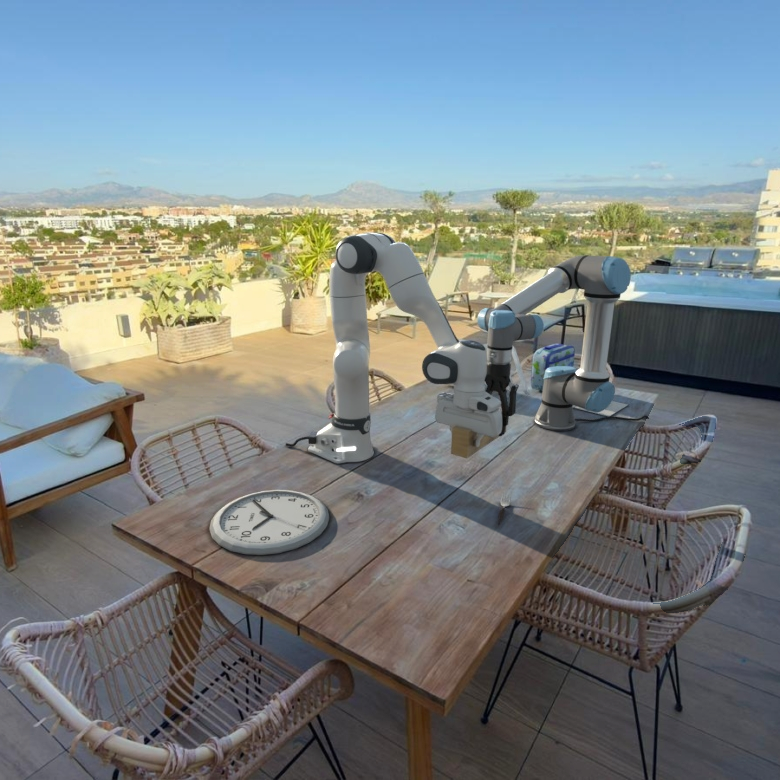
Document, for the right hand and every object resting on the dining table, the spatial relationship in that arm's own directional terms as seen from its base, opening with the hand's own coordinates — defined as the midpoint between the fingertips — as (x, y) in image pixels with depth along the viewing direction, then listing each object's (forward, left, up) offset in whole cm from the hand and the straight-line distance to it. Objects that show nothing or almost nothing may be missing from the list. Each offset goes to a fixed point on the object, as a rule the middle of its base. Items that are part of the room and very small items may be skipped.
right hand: (492, 432), depth 166 cm
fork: (-1, +30, -11) cm, 32 cm away
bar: (+4, +8, -1) cm, 9 cm away
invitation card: (-51, -66, -11) cm, 84 cm away
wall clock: (+59, +43, -11) cm, 74 cm away
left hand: (+9, +15, +2) cm, 18 cm away
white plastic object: (0, -77, -11) cm, 78 cm away
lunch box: (-34, -91, -11) cm, 98 cm away
